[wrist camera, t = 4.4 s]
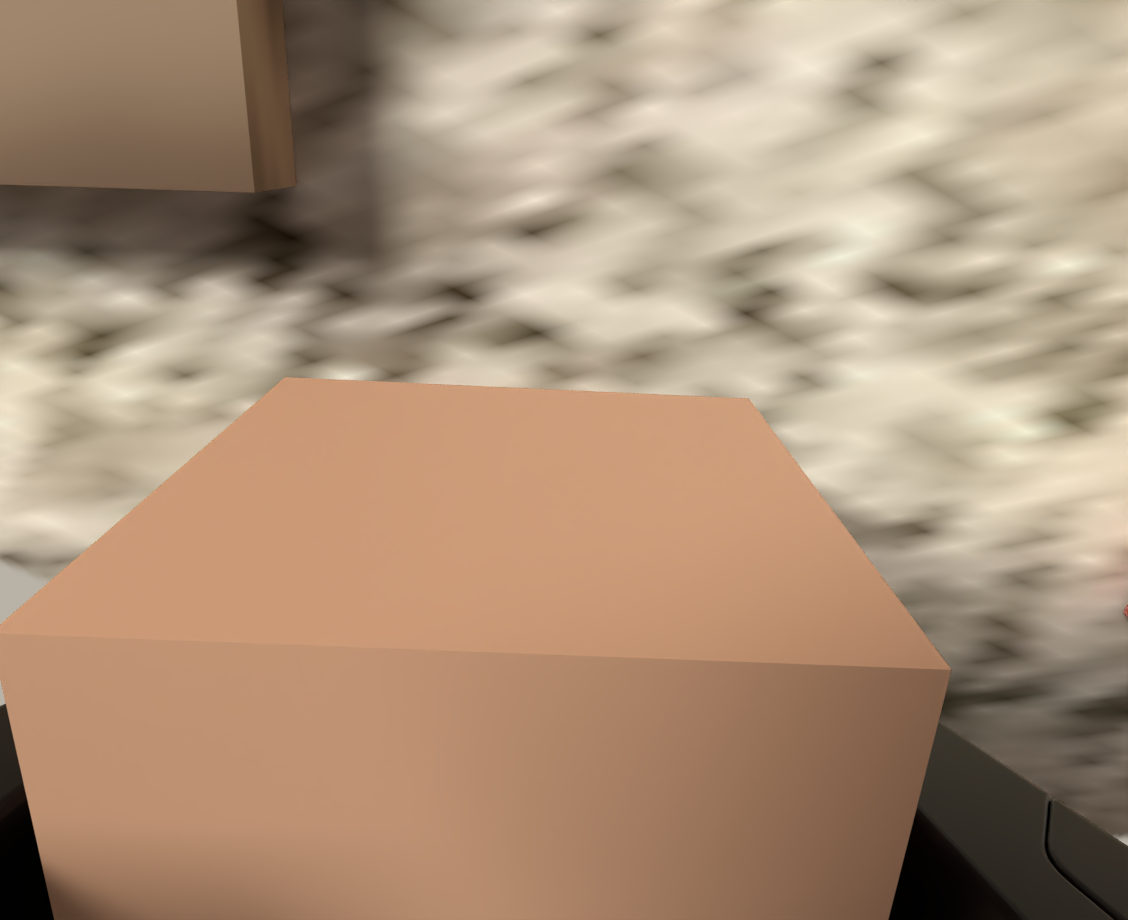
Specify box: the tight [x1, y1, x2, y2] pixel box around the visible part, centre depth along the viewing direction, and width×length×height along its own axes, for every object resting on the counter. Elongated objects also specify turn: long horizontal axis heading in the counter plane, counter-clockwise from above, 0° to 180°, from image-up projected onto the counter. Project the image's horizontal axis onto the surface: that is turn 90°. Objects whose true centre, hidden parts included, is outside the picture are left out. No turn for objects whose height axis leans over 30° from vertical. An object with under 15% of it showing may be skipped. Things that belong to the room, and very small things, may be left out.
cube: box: [0, 377, 951, 920], centre depth 8 cm, size 5×5×5 cm
